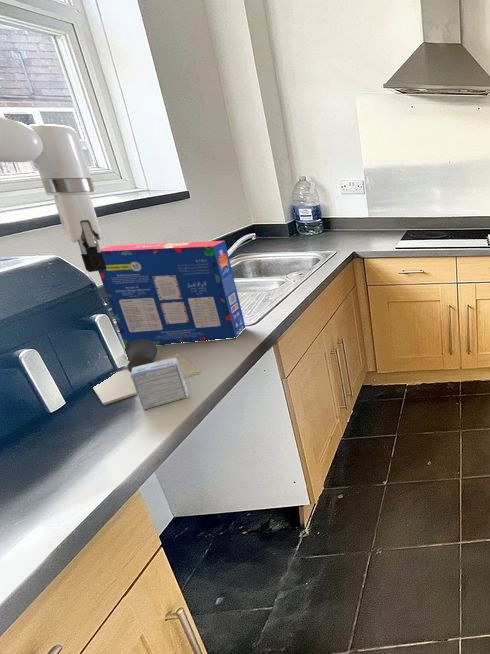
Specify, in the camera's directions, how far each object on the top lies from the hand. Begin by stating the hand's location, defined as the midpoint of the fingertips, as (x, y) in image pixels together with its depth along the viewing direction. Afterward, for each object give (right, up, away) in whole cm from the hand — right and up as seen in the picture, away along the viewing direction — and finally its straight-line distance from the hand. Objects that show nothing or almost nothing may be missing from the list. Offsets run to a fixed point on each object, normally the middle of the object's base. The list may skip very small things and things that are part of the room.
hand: (96, 270), depth 95 cm
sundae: (+5, -23, +6) cm, 24 cm away
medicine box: (+18, -29, -2) cm, 34 cm away
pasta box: (-2, -18, +29) cm, 34 cm away
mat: (+5, -26, +7) cm, 27 cm away
